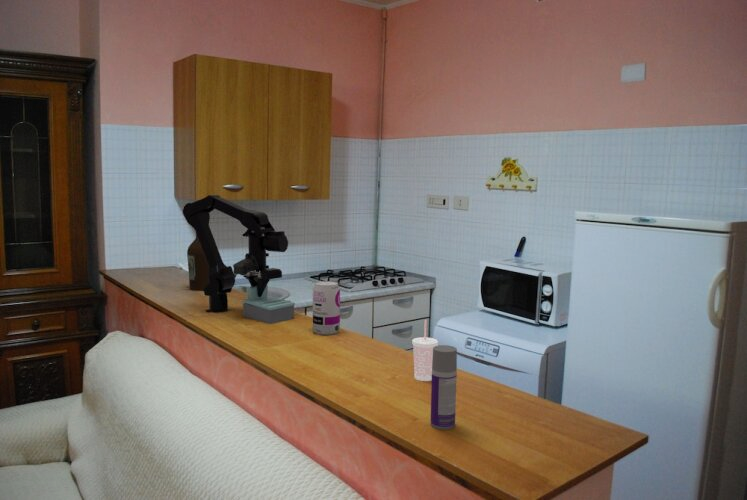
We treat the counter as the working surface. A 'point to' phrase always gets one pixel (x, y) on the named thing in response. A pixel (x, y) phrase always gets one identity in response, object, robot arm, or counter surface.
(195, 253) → the olive oil
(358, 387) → the counter surface
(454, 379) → the container
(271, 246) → the robot arm
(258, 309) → the tub
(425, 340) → the beverage cup
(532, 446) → the counter surface
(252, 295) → the lid
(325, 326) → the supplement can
